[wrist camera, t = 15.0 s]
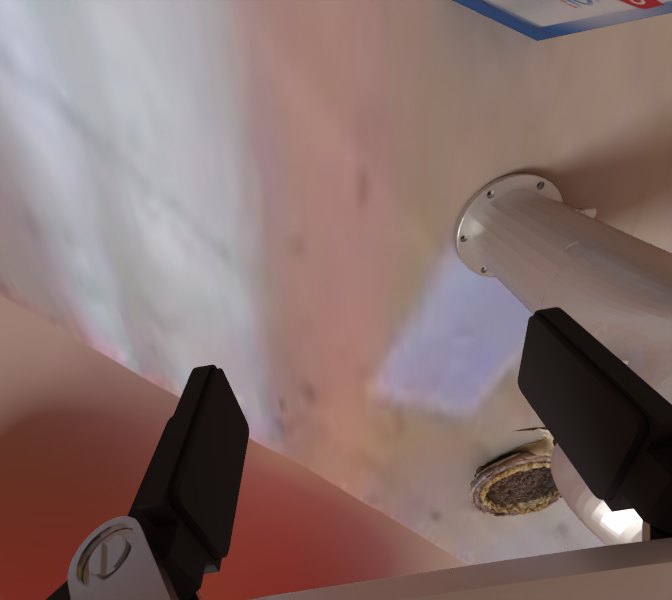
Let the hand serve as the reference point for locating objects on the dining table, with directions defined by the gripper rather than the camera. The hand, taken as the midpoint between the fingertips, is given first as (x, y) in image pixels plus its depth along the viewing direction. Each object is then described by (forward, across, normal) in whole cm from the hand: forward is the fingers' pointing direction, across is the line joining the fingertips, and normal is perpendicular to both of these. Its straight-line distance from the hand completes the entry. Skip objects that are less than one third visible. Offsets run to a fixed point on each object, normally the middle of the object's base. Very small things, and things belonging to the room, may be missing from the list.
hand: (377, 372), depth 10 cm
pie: (+31, -28, +65) cm, 77 cm away
